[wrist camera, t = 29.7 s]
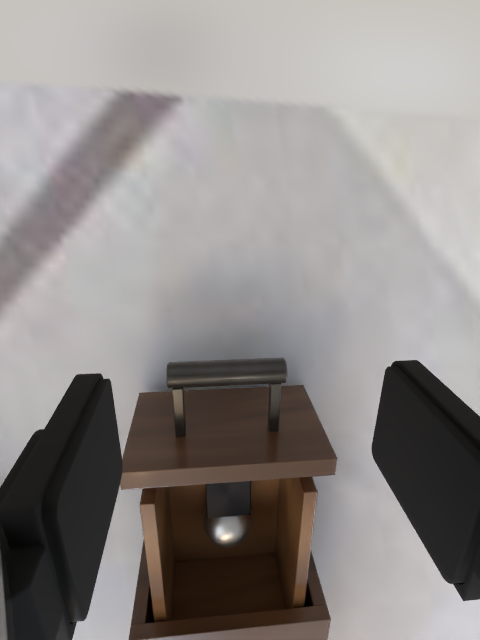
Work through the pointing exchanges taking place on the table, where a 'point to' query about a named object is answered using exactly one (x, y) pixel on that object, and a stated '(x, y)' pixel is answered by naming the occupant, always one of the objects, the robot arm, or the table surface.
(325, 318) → the table surface
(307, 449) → the drawer
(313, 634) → the cabinet
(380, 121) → the table surface
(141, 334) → the table surface
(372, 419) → the table surface
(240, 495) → the black and silver block
